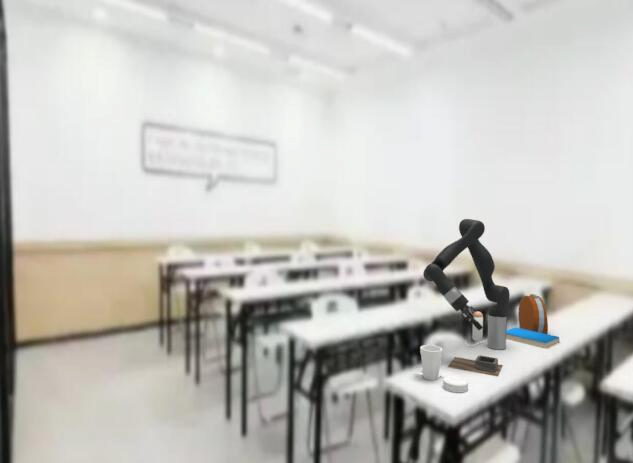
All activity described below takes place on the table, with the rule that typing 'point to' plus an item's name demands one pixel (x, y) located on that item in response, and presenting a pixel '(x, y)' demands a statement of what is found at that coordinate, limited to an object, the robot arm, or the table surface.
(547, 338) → the book
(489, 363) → the jig board
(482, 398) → the table surface
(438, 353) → the foam cup
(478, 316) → the orange-capped post
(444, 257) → the robot arm
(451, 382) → the coaster
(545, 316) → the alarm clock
